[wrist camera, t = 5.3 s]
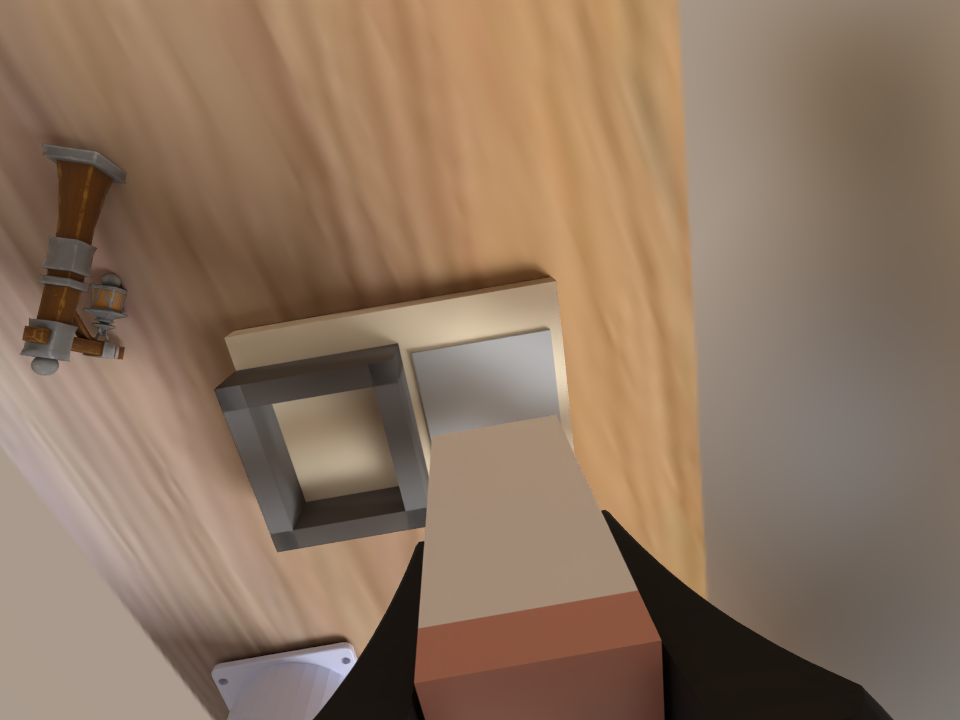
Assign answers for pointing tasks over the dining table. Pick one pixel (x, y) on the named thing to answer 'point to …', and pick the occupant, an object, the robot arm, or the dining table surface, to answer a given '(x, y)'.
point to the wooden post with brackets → (75, 266)
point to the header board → (384, 402)
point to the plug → (527, 588)
